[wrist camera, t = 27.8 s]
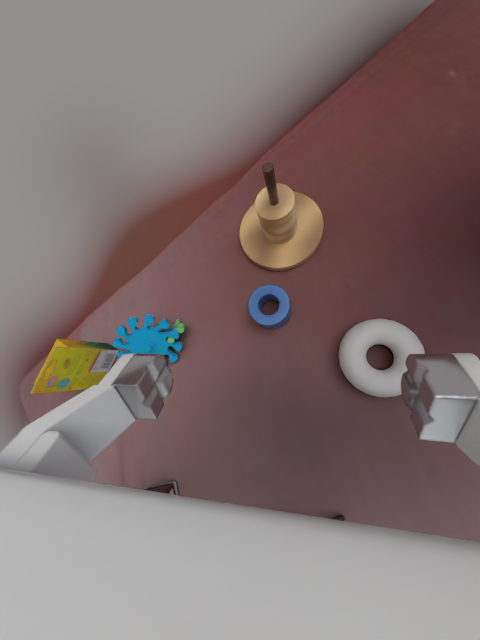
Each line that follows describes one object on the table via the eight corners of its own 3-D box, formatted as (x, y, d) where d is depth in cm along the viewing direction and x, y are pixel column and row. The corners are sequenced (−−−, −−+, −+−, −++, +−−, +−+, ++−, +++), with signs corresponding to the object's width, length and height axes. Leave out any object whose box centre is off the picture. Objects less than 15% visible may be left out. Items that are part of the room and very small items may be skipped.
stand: (333, 201, 40) (346, 117, 26) (309, 279, 38) (310, 232, 25) (255, 190, 43) (231, 112, 30) (231, 261, 42) (195, 212, 29)
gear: (134, 382, 41) (96, 334, 36) (141, 360, 46) (109, 315, 41) (198, 358, 40) (169, 306, 35) (198, 338, 46) (172, 290, 41)
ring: (290, 290, 39) (289, 283, 35) (291, 328, 38) (290, 324, 34) (253, 292, 40) (248, 286, 37) (253, 329, 39) (248, 325, 36)
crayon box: (108, 343, 46) (44, 335, 34) (120, 350, 45) (58, 345, 34) (88, 380, 45) (17, 384, 34) (99, 388, 44) (30, 396, 33)
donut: (401, 312, 35) (327, 331, 36) (412, 306, 31) (329, 328, 33) (431, 386, 32) (350, 403, 34) (446, 388, 29) (355, 407, 31)
